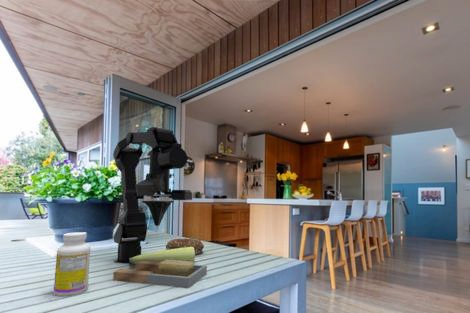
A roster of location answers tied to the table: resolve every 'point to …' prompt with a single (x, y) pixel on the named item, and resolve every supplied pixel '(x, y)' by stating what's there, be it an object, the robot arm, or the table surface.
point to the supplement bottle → (72, 265)
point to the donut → (185, 244)
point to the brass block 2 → (183, 268)
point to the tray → (178, 278)
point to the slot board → (137, 272)
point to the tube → (167, 255)
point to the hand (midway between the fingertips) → (157, 225)
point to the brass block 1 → (167, 267)
